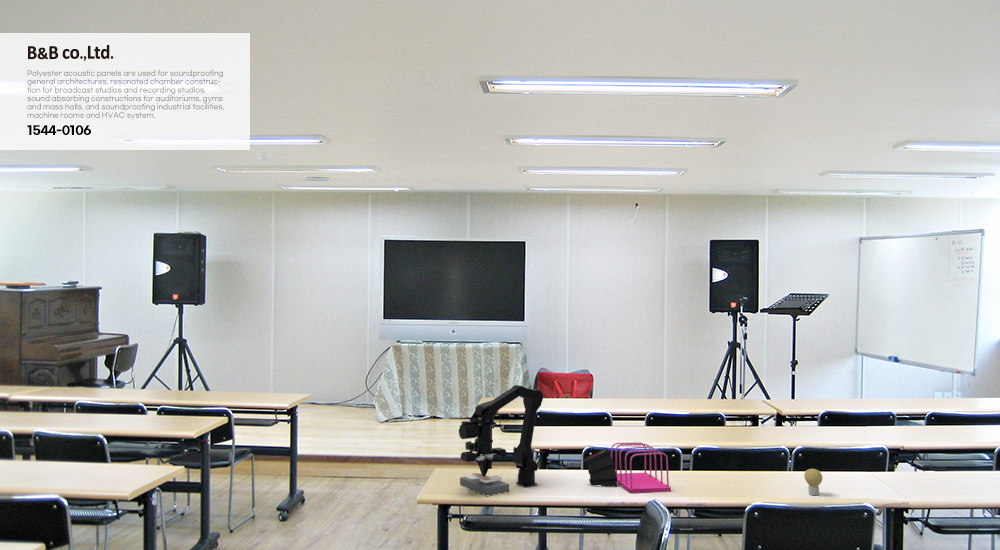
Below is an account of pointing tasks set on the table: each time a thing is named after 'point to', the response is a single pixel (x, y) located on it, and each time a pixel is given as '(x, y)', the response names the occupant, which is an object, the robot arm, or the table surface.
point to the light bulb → (813, 480)
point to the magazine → (601, 469)
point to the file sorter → (640, 480)
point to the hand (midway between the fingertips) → (483, 476)
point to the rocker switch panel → (484, 485)
